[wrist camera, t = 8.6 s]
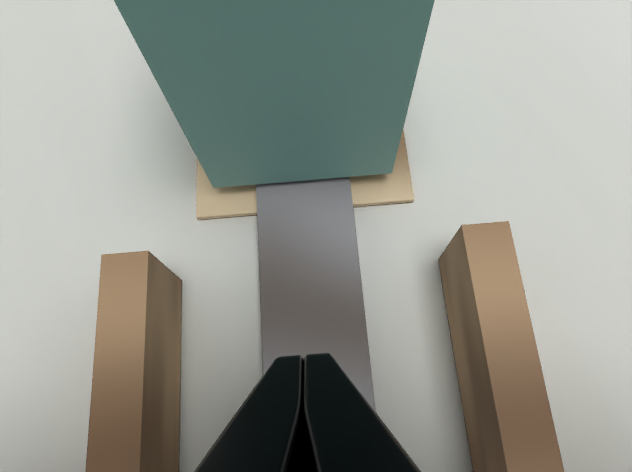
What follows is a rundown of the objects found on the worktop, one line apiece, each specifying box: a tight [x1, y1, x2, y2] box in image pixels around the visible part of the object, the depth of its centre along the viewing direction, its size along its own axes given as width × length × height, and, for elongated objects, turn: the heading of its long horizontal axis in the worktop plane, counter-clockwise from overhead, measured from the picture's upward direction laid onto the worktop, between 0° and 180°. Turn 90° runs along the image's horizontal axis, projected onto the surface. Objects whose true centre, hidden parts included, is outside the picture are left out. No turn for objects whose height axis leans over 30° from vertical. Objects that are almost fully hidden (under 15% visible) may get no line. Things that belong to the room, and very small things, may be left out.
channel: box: [86, 131, 564, 472], centre depth 12 cm, size 28×10×3 cm, turn 4°
